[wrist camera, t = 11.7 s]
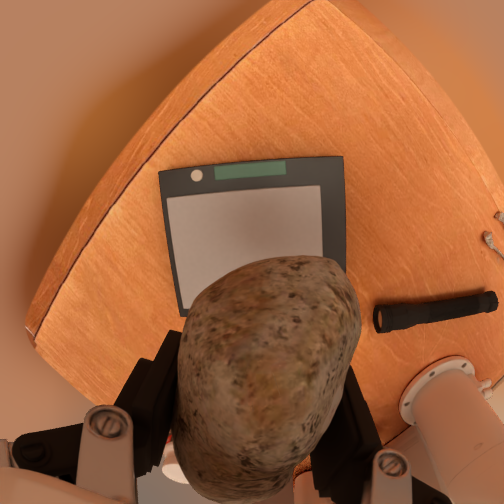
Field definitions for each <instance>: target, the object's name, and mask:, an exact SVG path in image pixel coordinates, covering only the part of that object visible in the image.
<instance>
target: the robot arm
mask: <svg viewBox="0 0 504 504" xmlns="http://www.w3.org/2000/svg"><path fill="white" fill-rule="evenodd" d="M181 335H182V333H181V332H177V331H174V330H169V332H168V334H167V336H166V337H165V339H164V341H163V343H162V345H161V347H160V349H159V351H158V353H157V355H156V357H155V359H154V361H151V360H147V359H144V358H140V359H139V360H138V362H137V364H136V366H135V367H134V369H133V371H132V373H131V374H130V376H129V378H128V380H127V381H126V383H125V385H124V387H123V389H122V390H121V392H120V394H119V396H118V398H117V399H116V401H115V403H114V405H99V406H95V407H94V408H92V409H90V410H89V411H88V412H87V413H86V416H85V418H84V423H80V424H75V425H71V426H66V427H61V428H55V429H50V430H45V431H39V432H33V433H27V434H24V435H21V436H20V437H18V438H17V439H16V441H14V442H8V441H7V440H6V439H0V504H138V493H137V478H138V477H140V476H143V475H146V473H147V472H151V470H152V467H153V465H154V466H159V464H160V461H161V458H162V454H163V451H164V448H165V445H166V442H167V438H168V435H169V432H170V429H171V420H172V412H173V405H174V399H175V392H176V386H177V379H178V352H179V346H180V341H181ZM491 383H492V382H491V379H490V378H487V379H485V380H482V381H480V382H479V381H478V380H477V379H476V378H475V370H474V367H473V365H472V363H471V362H470V361H469V360H468V359H466V358H465V357H462V356H451V357H447V358H444V359H441V360H439V361H437V362H435V363H433V364H432V365H430V366H428V367H427V368H426V369H424V370H423V371H422V372H421V373H419V374H418V375H417V376H416V377H415V378H414V379H413V380H412V381H411V382H410V384H409V385H408V386H407V388H406V389H405V391H404V393H403V395H402V396H401V399H400V402H399V412H400V415H401V417H402V419H403V420H404V421H405V422H406V423H408V424H410V425H416V426H418V427H419V429H420V431H421V433H422V435H423V437H424V439H425V441H426V443H427V446H428V448H429V450H430V452H431V454H432V456H433V459H434V461H435V463H436V465H437V467H438V470H439V472H440V474H441V476H442V479H443V481H444V483H445V486H446V488H447V490H448V493H449V495H450V497H451V499H452V501H453V502H454V503H455V504H504V424H503V423H502V422H501V420H500V419H499V417H498V416H497V415H496V413H495V412H494V410H493V409H492V408H491V406H490V405H489V404H488V403H487V401H486V400H487V399H490V398H491V397H492V394H493V392H492V389H491V388H490V386H491ZM310 459H311V467H312V475H313V483H314V488H315V490H318V491H319V498H328V497H331V501H333V502H334V503H333V504H452V502H451V500H450V499H449V497H448V496H446V495H445V494H444V493H442V492H440V491H438V490H436V489H434V488H433V487H431V486H429V485H427V484H426V483H424V482H422V481H420V480H419V479H417V478H415V477H414V476H412V475H411V465H410V462H409V460H408V458H407V457H406V456H405V455H404V454H403V453H401V452H399V451H398V450H394V449H383V447H382V444H381V441H380V438H379V435H378V433H377V430H376V427H375V424H374V421H373V419H372V416H371V413H370V410H369V408H368V405H367V403H366V401H365V400H364V398H363V395H362V392H361V390H360V387H359V384H358V382H357V379H356V377H355V374H354V371H353V369H352V367H351V366H350V365H349V369H348V372H347V374H346V378H345V383H344V388H343V394H342V398H341V400H340V403H339V405H338V407H337V409H336V411H335V414H334V416H333V418H332V420H331V423H330V425H329V426H328V428H327V429H326V431H325V432H324V434H323V435H322V437H321V438H320V440H319V442H318V443H317V445H316V447H315V448H314V450H313V451H312V452H311V453H310Z"/></svg>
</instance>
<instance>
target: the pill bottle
mask: <svg viewBox="0 0 504 504" xmlns="http://www.w3.org/2000/svg"><path fill="white" fill-rule="evenodd" d="M163 453H164V456H165V458H166V459H165V460H164V463H163V467H162V472H163V473H164V474H165V475H166V476H167V477H168V478H170V479H171V480H174V481H176V482H179V483H184V484H189V482H188V481H187V479H186V478H185V476H184V474H183V472H182V470H181V468H180V466H179V464H178V462H177V459H176V457H175V454H174V449H173V440H172V433H171V429H170V432H169V435H168V438H167V442H166V445H165V448H164V451H163Z"/></svg>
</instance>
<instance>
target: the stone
mask: <svg viewBox="0 0 504 504" xmlns="http://www.w3.org/2000/svg"><path fill="white" fill-rule="evenodd" d="M361 326H362V324H361V313H360V306H359V302H358V298H357V295H356V292H355V290H354V288H353V286H352V284H351V282H350V281H349V279H348V277H347V276H346V274H345V273H344V271H343V270H342V269H341V267H340V266H339V265H338V264H337V262H336V261H334V260H332V259H329V258H325V257H320V256H306V255H299V256H282V257H274V258H268V259H263V260H259V261H255V262H251V263H249V264H246V265H244V266H241V267H239V268H237V269H235V270H233V271H231V272H229V273H227V274H226V275H224V276H223V277H221V278H219V279H218V280H216V281H215V282H214V283H212V284H211V285H209V286H208V287H207V288H205V289H204V290H203V291H202V292H201V293H200V294H199V295H198V296H197V297H196V298H195V299H194V301H193V303H192V305H191V307H190V309H189V312H188V315H187V318H186V321H185V325H184V328H183V332H182V335H181V341H180V346H179V352H178V379H177V386H176V392H175V399H174V405H173V412H172V420H171V433H172V440H173V449H174V454H175V457H176V459H177V462H178V464H179V466H180V468H181V470H182V472H183V474H184V476H185V478H186V479H187V481H188V482H189V484H190V485H191V486H192V487H193V489H194V490H195V491H196V492H197V493H198V494H200V495H201V496H203V497H205V498H207V499H209V500H212V501H214V502H218V503H221V504H251V503H255V502H259V501H263V500H266V499H269V498H271V497H273V496H274V495H276V494H277V493H278V492H280V491H281V490H282V489H283V488H284V487H285V486H286V485H287V484H288V482H289V481H290V479H291V478H292V475H293V471H294V467H295V466H297V465H298V464H299V463H301V462H302V461H303V460H304V459H305V458H306V457H307V456H308V455H309V454H310V453H311V452H312V451H313V450H314V448H315V447H316V445H317V443H318V442H319V440H320V438H321V437H322V435H323V434H324V432H325V431H326V429H327V428H328V426H329V425H330V423H331V420H332V418H333V416H334V414H335V411H336V409H337V407H338V405H339V403H340V400H341V398H342V394H343V388H344V383H345V378H346V374H347V372H348V369H349V365H350V362H351V360H352V357H353V354H354V351H355V349H356V347H357V344H358V341H359V338H360V334H361Z"/></svg>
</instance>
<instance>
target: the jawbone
mask: <svg viewBox="0 0 504 504" xmlns="http://www.w3.org/2000/svg"><path fill="white" fill-rule="evenodd" d="M495 217H496V218H497V219H498V220H500V221H501V222H503V224H504V213H502V212H501V213H497V214H496V215H495ZM491 235H492V232H485V233H484V238H485V241H486V243H487V245H488V246H489V247H490V248H491V249H494V250H496V252H497V253H498V254H499V255H500V256H501V257H502V258H503V259H504V255H503V254H502V253H501V252H500V251H499V250H498V248H496V247H495V246H494V244H493V239H492V236H491Z"/></svg>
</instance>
